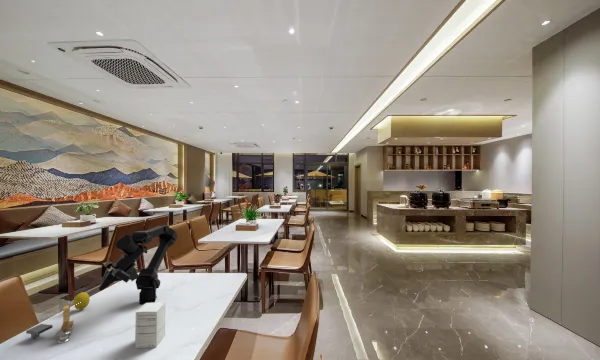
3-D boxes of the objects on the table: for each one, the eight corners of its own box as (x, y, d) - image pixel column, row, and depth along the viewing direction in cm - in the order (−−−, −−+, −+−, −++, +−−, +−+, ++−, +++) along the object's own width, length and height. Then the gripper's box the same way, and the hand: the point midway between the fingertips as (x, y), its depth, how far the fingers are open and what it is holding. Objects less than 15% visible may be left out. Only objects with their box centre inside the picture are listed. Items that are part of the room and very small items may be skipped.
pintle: (73, 336, 95) (73, 328, 95) (68, 342, 91) (68, 334, 91) (59, 338, 93) (59, 330, 93) (53, 345, 89) (53, 336, 90)
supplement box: (145, 336, 95) (146, 302, 95) (165, 335, 96) (166, 301, 96) (134, 348, 88) (134, 311, 88) (156, 347, 88) (157, 311, 89)
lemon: (80, 313, 112) (80, 295, 112) (69, 312, 113) (70, 294, 113) (92, 307, 117) (93, 290, 117) (82, 306, 118) (83, 289, 118)
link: (70, 335, 94) (71, 308, 95) (58, 338, 93) (59, 311, 93) (73, 324, 102) (74, 299, 102) (62, 327, 100) (63, 301, 100)
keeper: (52, 334, 95) (52, 325, 96) (37, 342, 91) (38, 331, 91) (40, 333, 96) (41, 323, 96) (25, 341, 92) (26, 330, 92)
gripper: (152, 271, 111) (122, 305, 103) (138, 262, 123) (110, 292, 115) (131, 257, 105) (97, 292, 97) (118, 249, 118) (88, 280, 109)
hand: (99, 290), depth 105 cm, fingers closed
